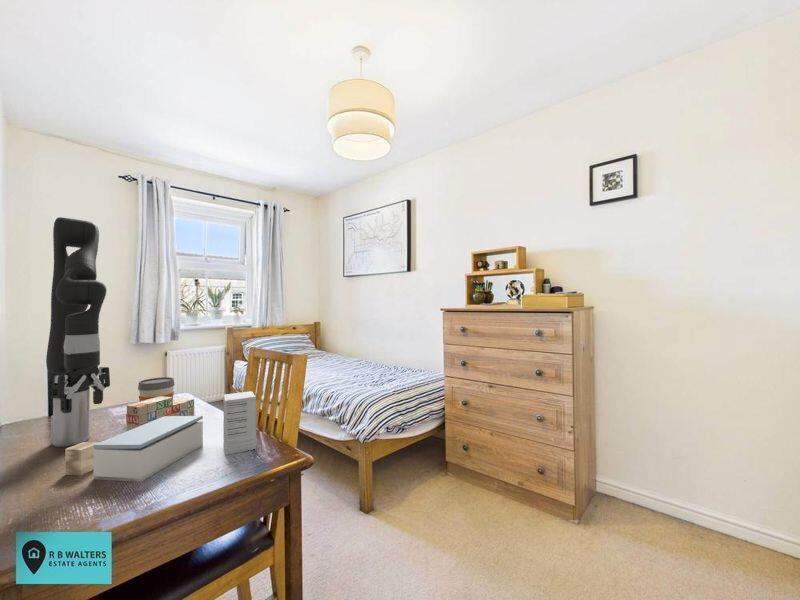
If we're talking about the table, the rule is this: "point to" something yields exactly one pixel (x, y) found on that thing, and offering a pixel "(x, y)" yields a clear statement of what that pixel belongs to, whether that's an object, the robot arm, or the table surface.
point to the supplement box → (239, 422)
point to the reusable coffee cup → (156, 388)
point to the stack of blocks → (157, 410)
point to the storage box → (147, 456)
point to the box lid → (148, 433)
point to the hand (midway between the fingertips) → (82, 408)
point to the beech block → (79, 458)
